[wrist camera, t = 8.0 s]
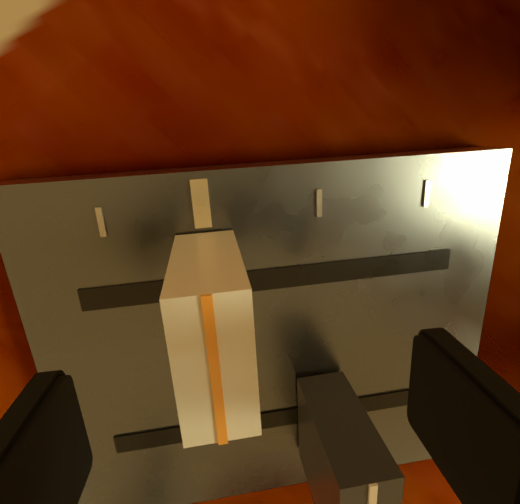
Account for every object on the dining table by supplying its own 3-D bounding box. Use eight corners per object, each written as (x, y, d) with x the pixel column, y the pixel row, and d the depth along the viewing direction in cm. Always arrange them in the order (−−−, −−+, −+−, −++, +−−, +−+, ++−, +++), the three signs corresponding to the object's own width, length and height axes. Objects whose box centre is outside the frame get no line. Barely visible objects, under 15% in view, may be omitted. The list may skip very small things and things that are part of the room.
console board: (480, 146, 18) (515, 148, 16) (440, 427, 24) (462, 455, 22) (7, 179, 15) (-23, 187, 13) (94, 488, 21) (83, 526, 19)
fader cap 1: (233, 230, 15) (252, 290, 9) (241, 333, 17) (262, 437, 11) (175, 235, 15) (158, 301, 9) (189, 339, 16) (183, 451, 11)
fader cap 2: (342, 371, 18) (406, 479, 13) (340, 446, 20) (396, 571, 14) (297, 378, 18) (340, 492, 12) (298, 453, 20) (338, 584, 14)
